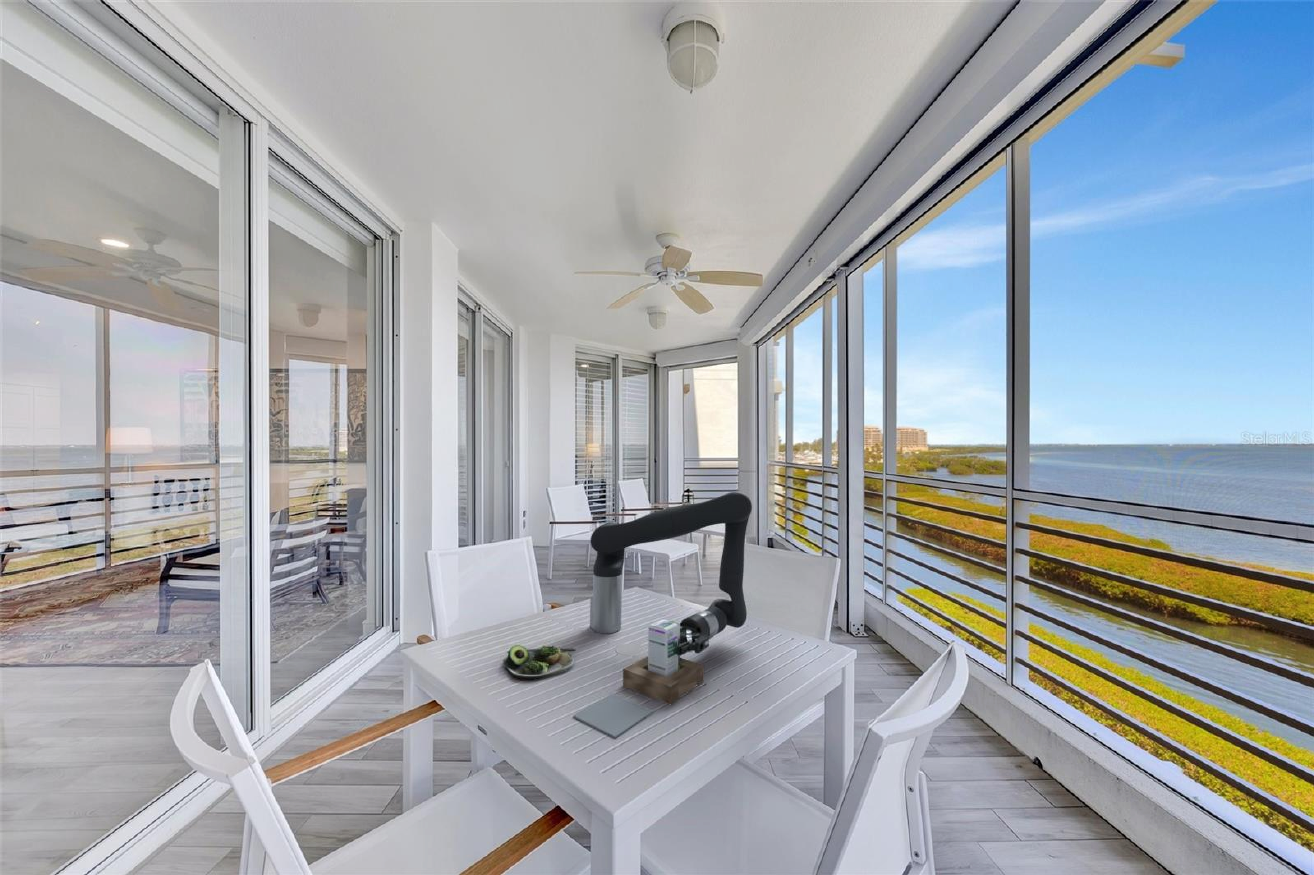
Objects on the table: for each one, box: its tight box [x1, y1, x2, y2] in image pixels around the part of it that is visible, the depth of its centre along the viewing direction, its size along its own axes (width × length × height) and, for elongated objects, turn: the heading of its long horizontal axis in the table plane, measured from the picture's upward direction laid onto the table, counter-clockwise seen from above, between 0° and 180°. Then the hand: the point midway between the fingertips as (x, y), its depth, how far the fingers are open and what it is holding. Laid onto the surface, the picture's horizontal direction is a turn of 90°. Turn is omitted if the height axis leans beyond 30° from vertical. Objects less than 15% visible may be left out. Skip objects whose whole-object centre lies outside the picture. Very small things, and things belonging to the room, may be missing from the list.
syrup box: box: [647, 618, 681, 677], centre depth 117 cm, size 6×6×14 cm
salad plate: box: [502, 644, 577, 682], centre depth 127 cm, size 19×18×5 cm
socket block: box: [622, 655, 705, 705], centre depth 116 cm, size 14×14×4 cm
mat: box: [572, 693, 654, 740], centre depth 102 cm, size 12×12×1 cm
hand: (663, 646), depth 116 cm, fingers open, 8 cm apart
